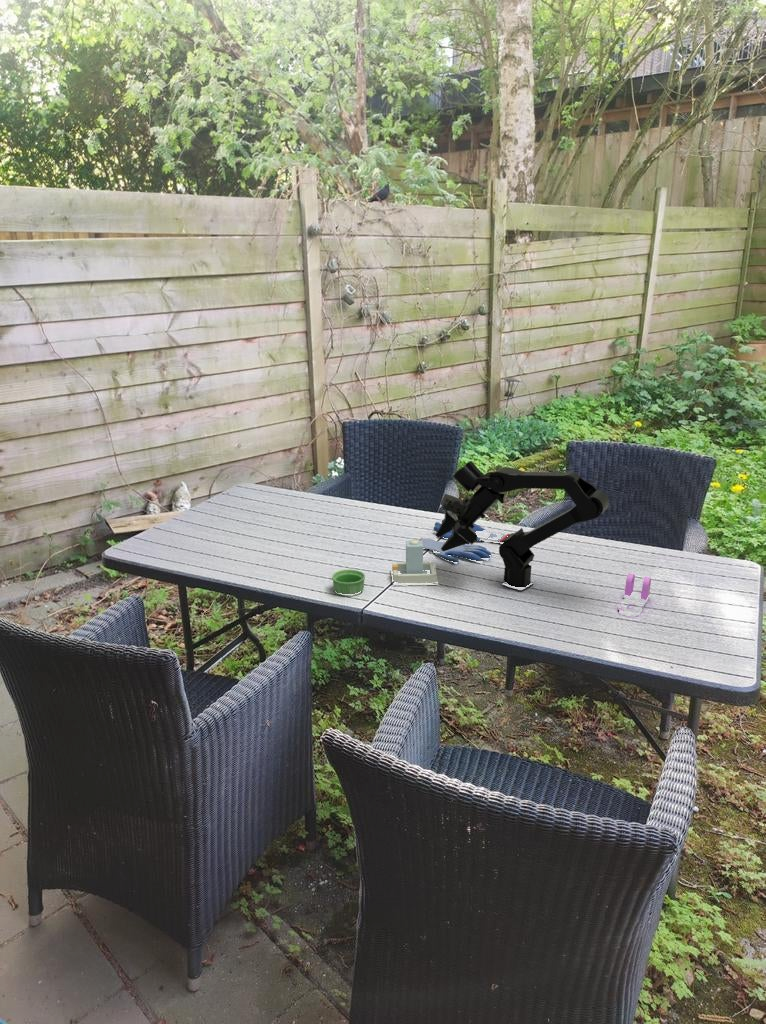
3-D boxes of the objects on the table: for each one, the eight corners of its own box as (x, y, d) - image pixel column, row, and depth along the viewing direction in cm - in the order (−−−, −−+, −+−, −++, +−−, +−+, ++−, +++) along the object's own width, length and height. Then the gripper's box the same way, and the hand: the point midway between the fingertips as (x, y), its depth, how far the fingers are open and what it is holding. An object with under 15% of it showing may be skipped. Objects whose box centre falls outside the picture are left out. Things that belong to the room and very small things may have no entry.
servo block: (426, 573, 203) (427, 537, 199) (428, 579, 198) (428, 543, 195) (400, 573, 203) (400, 538, 199) (401, 579, 198) (401, 544, 195)
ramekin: (328, 586, 196) (327, 572, 195) (359, 581, 199) (358, 567, 198) (337, 600, 188) (337, 585, 187) (369, 594, 191) (369, 579, 190)
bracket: (626, 595, 191) (629, 571, 188) (648, 599, 188) (651, 575, 186) (615, 614, 180) (618, 589, 178) (637, 619, 177) (641, 594, 175)
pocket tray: (435, 570, 206) (435, 557, 204) (438, 585, 196) (439, 572, 195) (390, 571, 205) (390, 558, 204) (391, 586, 196) (391, 573, 194)
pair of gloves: (480, 571, 206) (481, 560, 205) (402, 555, 218) (402, 544, 217) (516, 537, 233) (517, 526, 232) (445, 524, 244) (445, 514, 243)
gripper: (452, 474, 200) (414, 513, 203) (465, 497, 183) (423, 539, 186) (479, 498, 204) (441, 536, 207) (494, 523, 186) (453, 564, 190)
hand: (439, 543), depth 197 cm, fingers open, 9 cm apart
